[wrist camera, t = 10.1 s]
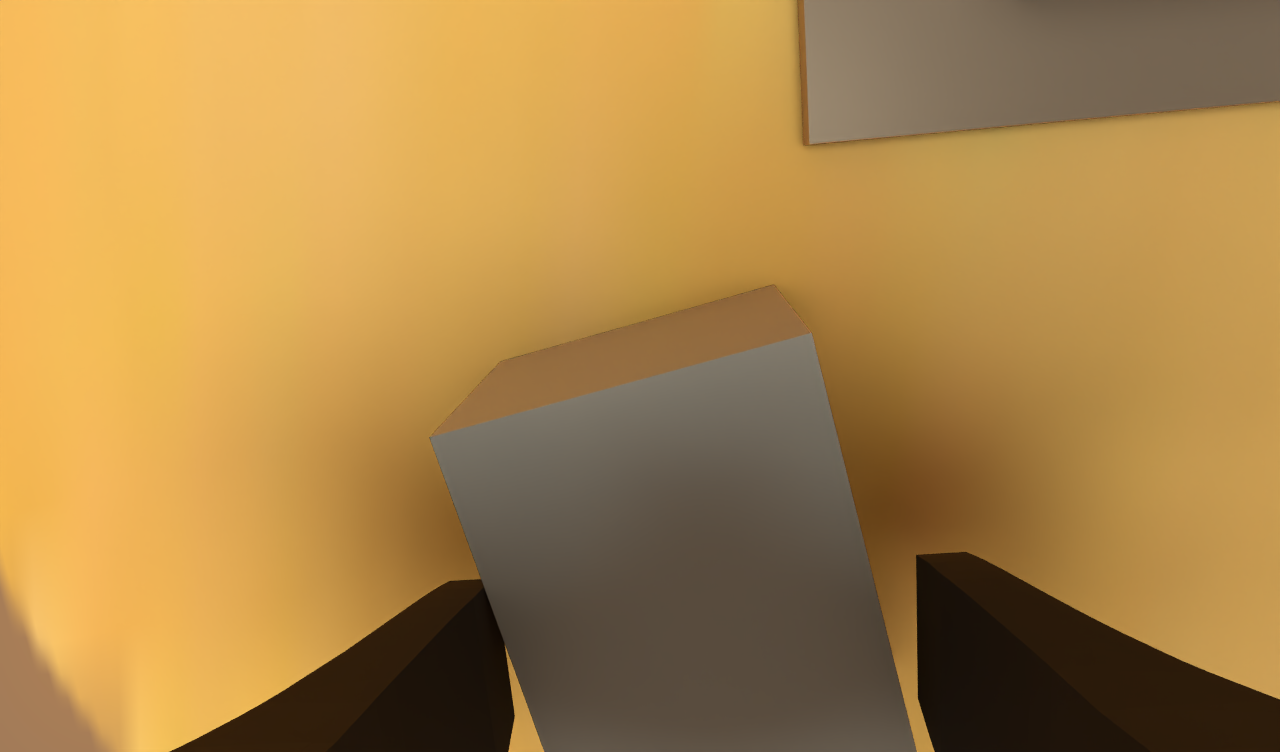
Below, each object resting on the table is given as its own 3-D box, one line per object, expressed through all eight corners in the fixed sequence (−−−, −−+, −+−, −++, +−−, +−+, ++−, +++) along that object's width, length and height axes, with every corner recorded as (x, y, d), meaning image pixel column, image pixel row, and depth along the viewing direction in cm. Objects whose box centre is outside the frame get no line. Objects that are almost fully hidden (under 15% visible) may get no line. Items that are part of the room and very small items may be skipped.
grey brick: (773, 284, 13) (811, 333, 9) (873, 670, 15) (941, 851, 11) (502, 360, 14) (428, 437, 10) (624, 725, 15) (605, 918, 11)
